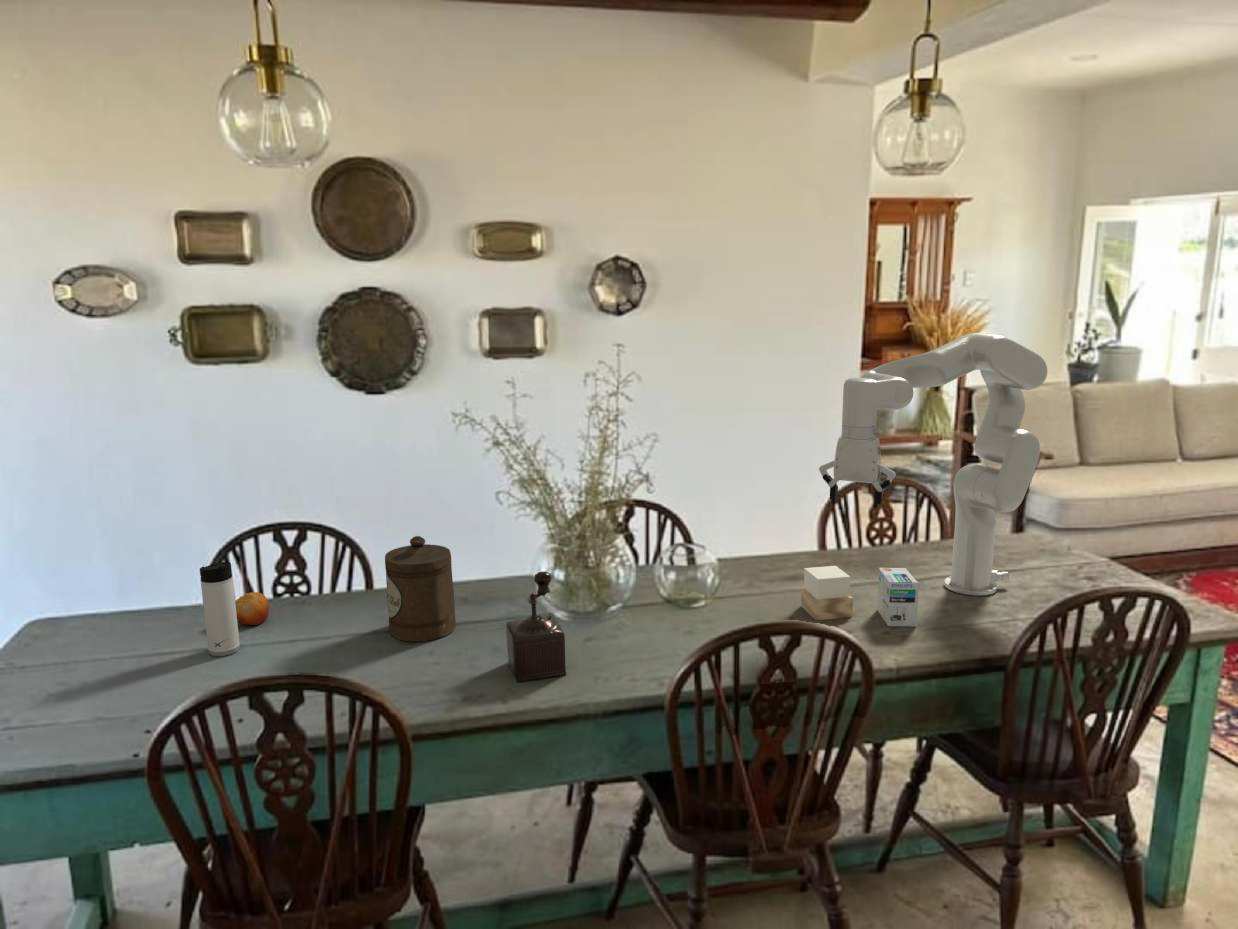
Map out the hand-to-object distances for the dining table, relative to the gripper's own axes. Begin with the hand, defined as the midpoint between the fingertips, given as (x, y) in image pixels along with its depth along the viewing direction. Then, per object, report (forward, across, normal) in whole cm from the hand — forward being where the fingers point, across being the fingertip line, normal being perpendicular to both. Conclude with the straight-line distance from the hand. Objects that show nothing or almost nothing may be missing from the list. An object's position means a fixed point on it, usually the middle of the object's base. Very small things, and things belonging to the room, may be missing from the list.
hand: (855, 504), depth 217 cm
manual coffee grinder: (+26, +54, +57) cm, 82 cm away
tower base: (+26, +5, +3) cm, 27 cm away
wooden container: (+26, +86, +51) cm, 104 cm away
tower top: (+21, +5, +3) cm, 22 cm away
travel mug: (+25, +118, +79) cm, 144 cm away
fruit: (+26, +125, +64) cm, 143 cm away
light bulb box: (+26, -11, +1) cm, 28 cm away
